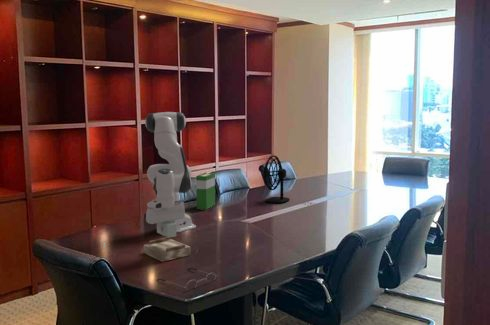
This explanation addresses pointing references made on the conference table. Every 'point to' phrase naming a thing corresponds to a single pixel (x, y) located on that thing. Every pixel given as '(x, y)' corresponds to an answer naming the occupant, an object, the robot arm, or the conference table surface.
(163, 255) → the display stand
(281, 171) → the desk fan
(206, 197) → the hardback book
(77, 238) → the conference table surface
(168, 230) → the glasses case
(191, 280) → the eyeglasses
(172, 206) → the robot arm
